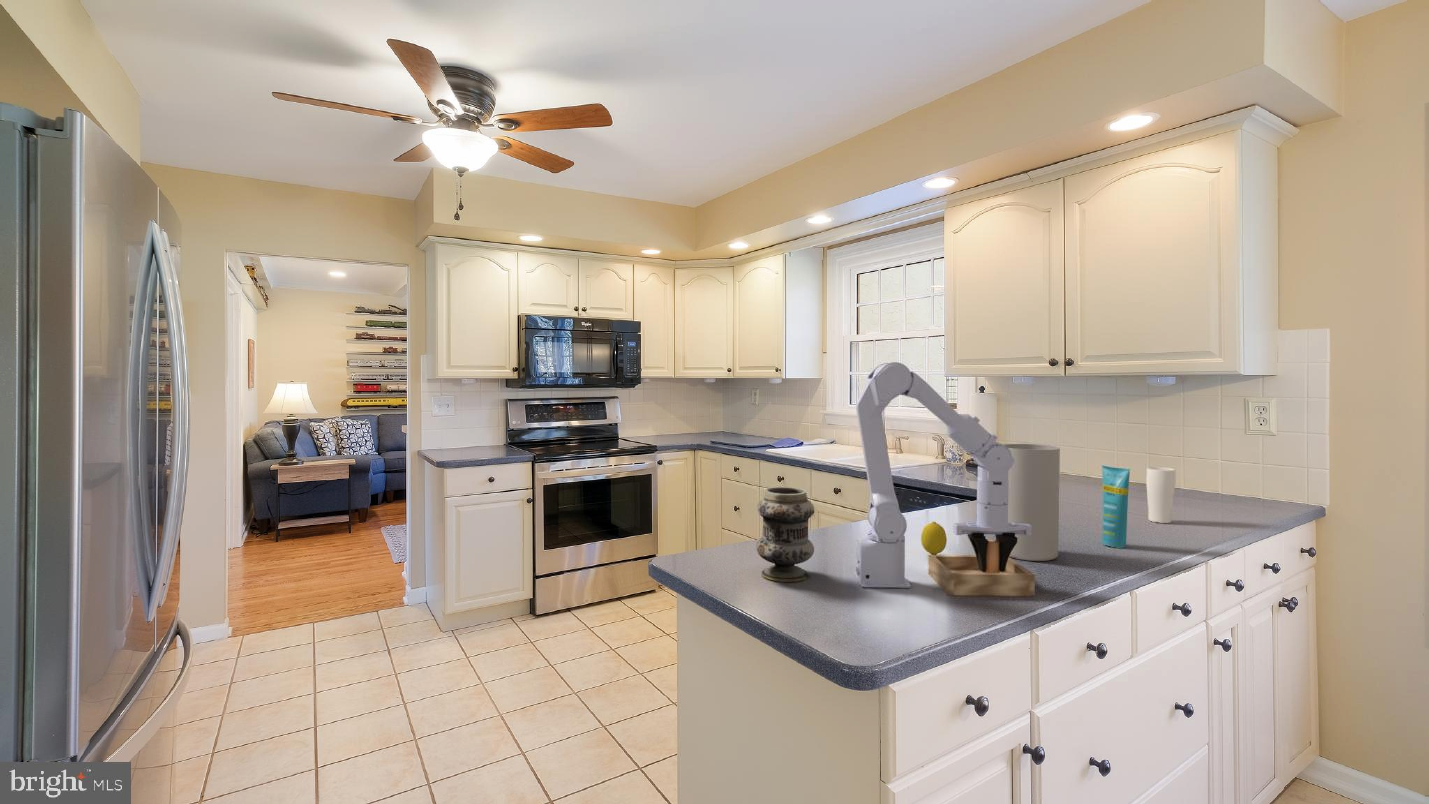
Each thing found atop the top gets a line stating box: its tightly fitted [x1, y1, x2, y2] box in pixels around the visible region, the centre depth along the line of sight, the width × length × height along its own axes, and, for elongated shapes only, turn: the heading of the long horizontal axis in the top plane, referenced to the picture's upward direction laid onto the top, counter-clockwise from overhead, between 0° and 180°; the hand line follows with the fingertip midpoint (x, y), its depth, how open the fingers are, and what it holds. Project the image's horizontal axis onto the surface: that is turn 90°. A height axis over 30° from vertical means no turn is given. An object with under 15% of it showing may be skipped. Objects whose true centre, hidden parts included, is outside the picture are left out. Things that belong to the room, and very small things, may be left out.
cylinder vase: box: [1003, 443, 1061, 562], centre depth 149 cm, size 12×12×25 cm
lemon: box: [920, 521, 948, 555], centre depth 148 cm, size 6×6×8 cm
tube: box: [1101, 464, 1131, 549], centre depth 156 cm, size 7×5×19 cm, turn 23°
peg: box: [983, 539, 999, 573], centre depth 128 cm, size 3×3×8 cm
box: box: [928, 554, 1036, 597], centre depth 128 cm, size 16×13×4 cm
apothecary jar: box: [755, 486, 815, 583], centre depth 135 cm, size 12×12×18 cm
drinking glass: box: [1145, 466, 1177, 524], centre depth 181 cm, size 7×7×15 cm
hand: (991, 570), depth 128 cm, fingers closed on peg, 3 cm apart
